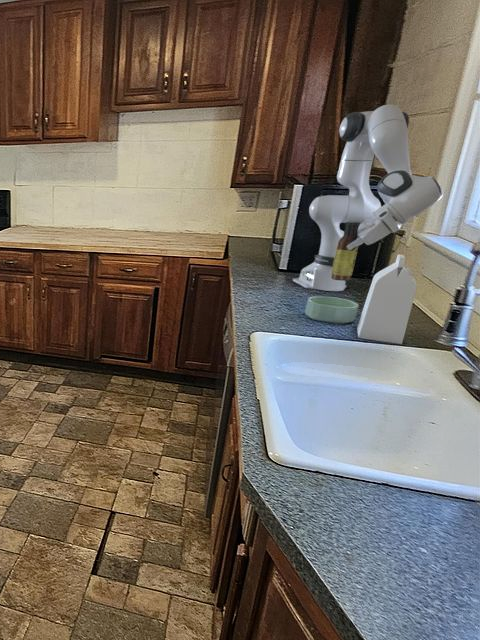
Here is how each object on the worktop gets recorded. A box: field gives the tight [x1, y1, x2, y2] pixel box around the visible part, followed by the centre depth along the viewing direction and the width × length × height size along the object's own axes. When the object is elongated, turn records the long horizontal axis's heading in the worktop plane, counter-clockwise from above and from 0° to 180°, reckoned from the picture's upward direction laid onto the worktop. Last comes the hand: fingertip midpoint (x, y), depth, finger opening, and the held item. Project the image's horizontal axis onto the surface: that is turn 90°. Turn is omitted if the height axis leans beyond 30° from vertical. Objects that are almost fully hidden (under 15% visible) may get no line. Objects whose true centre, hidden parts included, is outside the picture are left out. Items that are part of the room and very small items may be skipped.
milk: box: [356, 254, 418, 345], centre depth 167 cm, size 12×12×26 cm
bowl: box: [304, 295, 360, 325], centre depth 189 cm, size 16×16×6 cm
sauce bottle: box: [331, 221, 361, 281], centre depth 183 cm, size 6×6×20 cm
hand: (345, 246), depth 182 cm, fingers closed on sauce bottle, 6 cm apart
